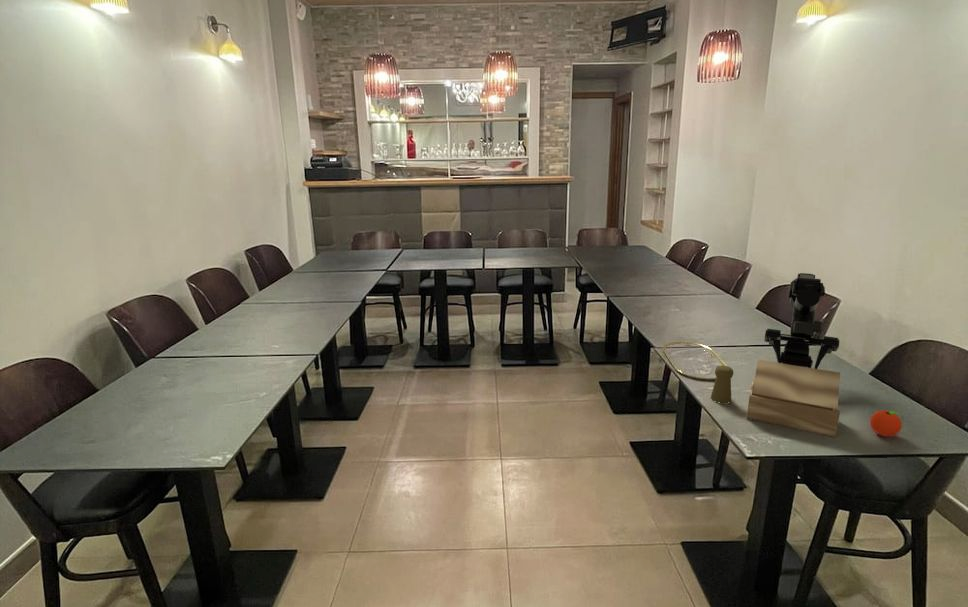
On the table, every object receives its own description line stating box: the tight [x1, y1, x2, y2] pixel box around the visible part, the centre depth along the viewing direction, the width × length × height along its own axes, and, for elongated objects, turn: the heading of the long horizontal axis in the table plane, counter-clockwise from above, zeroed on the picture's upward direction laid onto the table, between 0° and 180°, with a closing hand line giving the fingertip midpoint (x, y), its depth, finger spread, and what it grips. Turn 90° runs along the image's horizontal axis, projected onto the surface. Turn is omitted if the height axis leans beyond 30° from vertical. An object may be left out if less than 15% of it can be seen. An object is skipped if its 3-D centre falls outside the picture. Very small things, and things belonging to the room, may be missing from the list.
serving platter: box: [662, 341, 727, 381], centre depth 198 cm, size 19×35×2 cm, turn 176°
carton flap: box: [753, 359, 841, 409], centre depth 151 cm, size 11×21×1 cm
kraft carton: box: [746, 379, 841, 438], centre depth 155 cm, size 12×22×8 cm, turn 61°
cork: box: [710, 365, 734, 404], centre depth 167 cm, size 6×6×11 cm
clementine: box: [869, 409, 904, 437], centre depth 146 cm, size 8×7×7 cm
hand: (796, 367), depth 156 cm, fingers open, 9 cm apart
